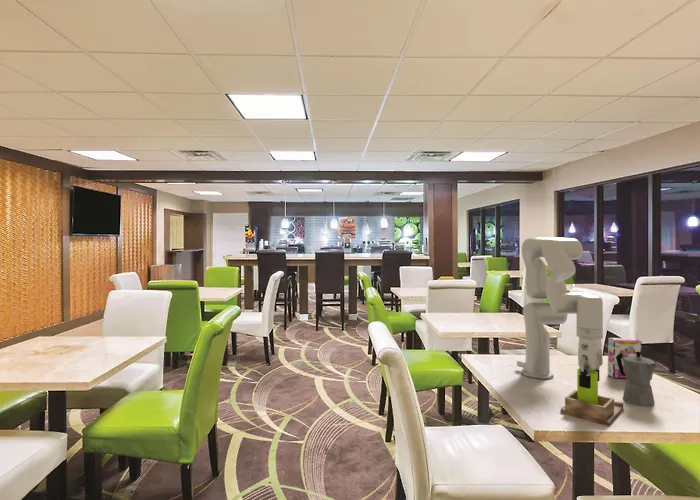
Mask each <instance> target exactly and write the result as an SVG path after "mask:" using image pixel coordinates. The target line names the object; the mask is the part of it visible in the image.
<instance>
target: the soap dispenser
mask: <svg viewBox="0 0 700 500" xmlns="http://www.w3.org/2000/svg"><path fill="white" fill-rule="evenodd" d="M597 355H601V354H600V353H598V354H597ZM579 369H580V368H577V372H576V373H577V375H576V376H577V381H576V384H577V385H576V386H577V388H576V390H577V400H580V401H584V402H588V403H592V404H596V405H598V395H599V389H598V388H599V381H598V372H597V371H596V370H593V369H592V368H591V370H590V375H589V376H591V388H590V389H588V388H584V387H580V386H579ZM586 370H588V369H586Z"/></svg>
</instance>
